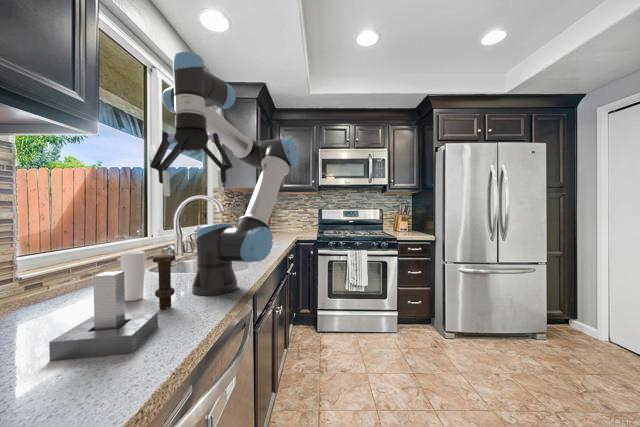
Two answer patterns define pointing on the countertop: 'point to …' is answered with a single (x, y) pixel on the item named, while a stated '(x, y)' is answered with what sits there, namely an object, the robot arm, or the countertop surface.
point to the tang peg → (109, 301)
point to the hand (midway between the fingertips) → (194, 195)
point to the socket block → (103, 338)
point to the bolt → (164, 280)
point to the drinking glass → (133, 274)
